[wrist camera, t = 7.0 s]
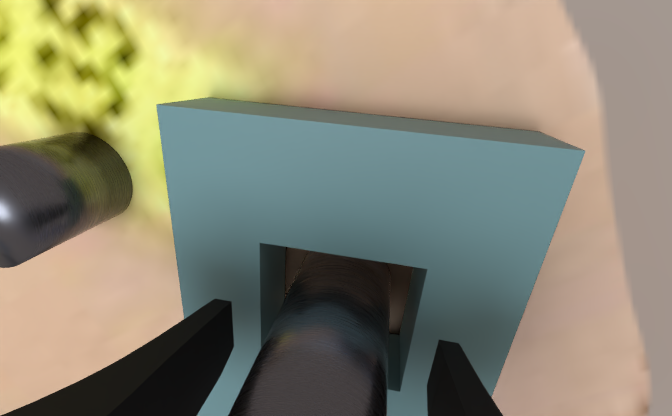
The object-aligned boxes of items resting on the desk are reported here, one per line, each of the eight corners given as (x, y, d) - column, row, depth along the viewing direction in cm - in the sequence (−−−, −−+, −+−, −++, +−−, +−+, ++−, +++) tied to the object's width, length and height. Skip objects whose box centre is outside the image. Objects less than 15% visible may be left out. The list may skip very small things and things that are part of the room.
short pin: (139, 222, 16) (46, 275, 11) (65, 211, 16) (-49, 258, 12) (123, 136, 14) (8, 162, 10) (42, 128, 14) (-99, 150, 10)
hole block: (450, 410, 17) (460, 476, 14) (227, 363, 18) (196, 415, 15) (539, 131, 11) (585, 150, 8) (208, 97, 13) (156, 104, 10)
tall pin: (377, 323, 15) (357, 610, 7) (296, 300, 16) (186, 551, 7) (401, 251, 14) (408, 516, 6) (309, 227, 14) (188, 445, 6)
